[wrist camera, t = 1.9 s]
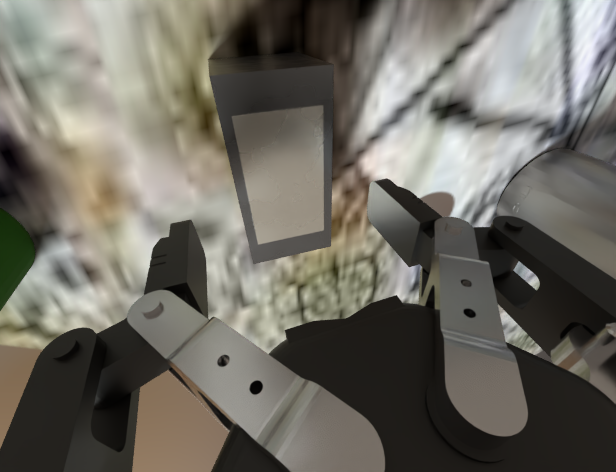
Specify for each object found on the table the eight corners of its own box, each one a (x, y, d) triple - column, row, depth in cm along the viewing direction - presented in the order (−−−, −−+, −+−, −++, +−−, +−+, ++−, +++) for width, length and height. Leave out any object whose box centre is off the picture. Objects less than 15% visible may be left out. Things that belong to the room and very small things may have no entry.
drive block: (297, 52, 16) (334, 64, 11) (305, 200, 22) (331, 247, 17) (208, 59, 15) (209, 76, 10) (243, 211, 21) (253, 265, 17)
